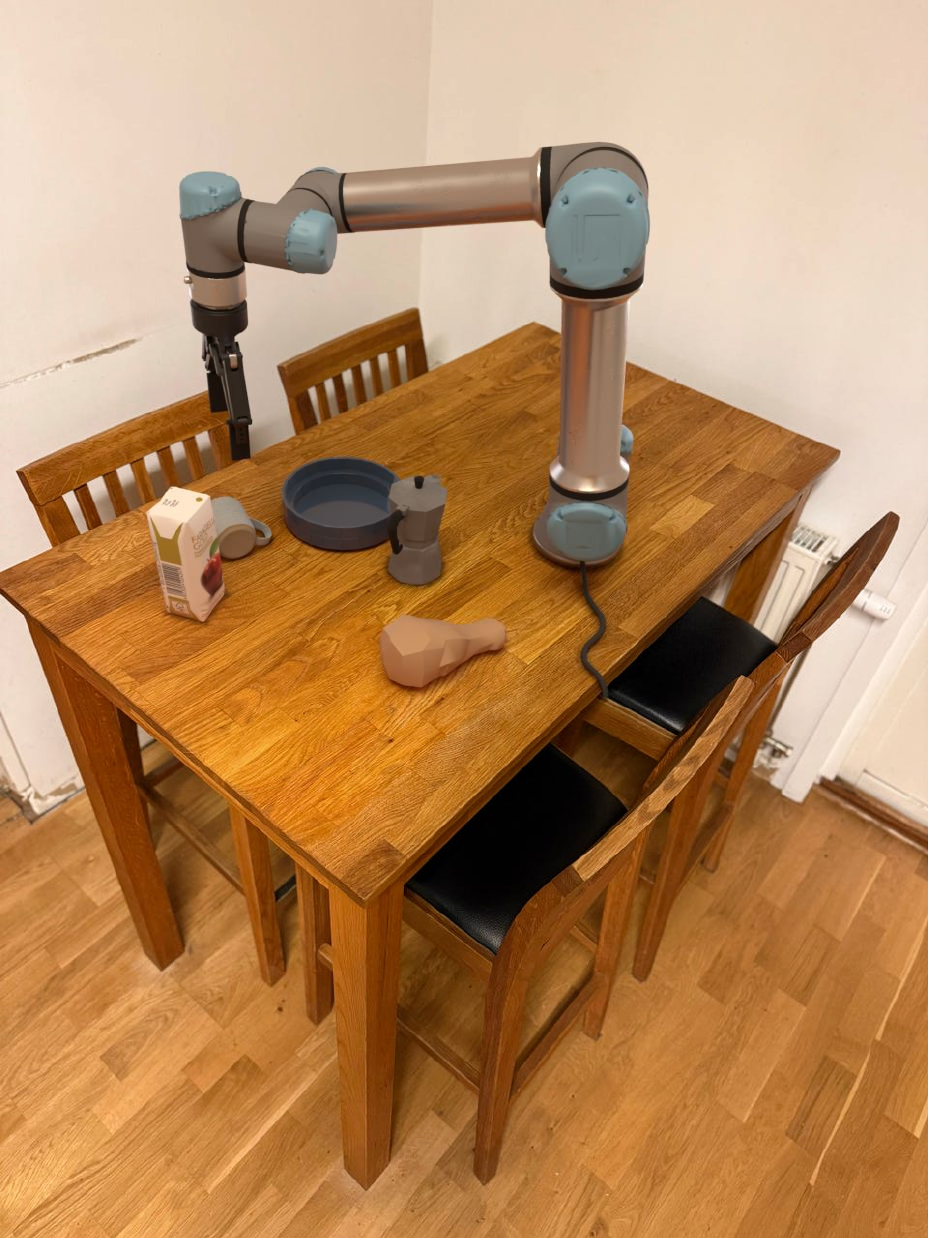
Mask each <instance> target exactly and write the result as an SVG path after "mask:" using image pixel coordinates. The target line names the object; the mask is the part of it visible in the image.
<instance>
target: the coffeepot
mask: <svg viewBox="0 0 928 1238" xmlns="http://www.w3.org/2000/svg"><path fill="white" fill-rule="evenodd" d="M441 482H442V476H440V475H439V476H438V475H437V474H433V473H432V474H428V475H426V476H422V475H415V476H408V477H405V478H403V479H400V481H398V482H396V483H393V484H392V486H391V490H390V494H389V501H390V508H391V516H390V518H389V521H388V523H387V533H388V536H389V538H388V540H389V543H390V546H391V552H390V557H389V562H388V567H387V572H388V573H389V574H390V576H392V577H393V578H394V579H395V580H396V581H398V582H399V583H402V584H405V585H410V586H423V585H427V584H430V583H432V582H433V581H435V580H436V579H438V578H439V577H440V576H441V570H442V563H443V561H442V556H441V555H442V554H441V547H440V546H441V545H440V540H439V531H440V527H441V524H442V520H443V515H444V512H445V507H446V504H447V498H448V489H447V488H446V487H445V486H443V485H442V484H441Z"/></svg>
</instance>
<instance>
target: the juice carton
mask: <svg viewBox="0 0 928 1238" xmlns="http://www.w3.org/2000/svg"><path fill="white" fill-rule="evenodd" d="M146 519H147V526H148V530H149V534H150V539H151V544H152V548H153V553H154V559H155V564H156V568H157V573H158V576H159V582H160V587H161V592H162V596H163V600H164V604H165V608H166V611H167V613H168V614H171V615H176V616H179V617H183V618H185V619H186V618H187V619H190V620H194V621H197V622H202V623H204V622H205V621H206V620H207V619H208V617H209V616H210V614H211V613H212V611H213V610H214V608H215V607H216V606H217V604H218V603H219V602H220V601H221V600H222V599H223V597H224V596H225V580H224V574H223V573H224V572H223V566H222V560H221V555H220V552H219V546H218V539H217V532H216V525H215V519H214V513H213V508H212V504H211V495H208V494H207V493H201V492H197V491H194V490H190V489H186V488H185V489H184V488H180V487H178V486H170V487H169V488H168V490H167V491H166V492H165V493H164V495H163V496H162V498H161V499H160V500H159V501H158V502H157V503H155V504H154V505H153V506H152V507H150V509H149V510H147V511H146Z"/></svg>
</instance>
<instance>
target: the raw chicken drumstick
mask: <svg viewBox="0 0 928 1238" xmlns="http://www.w3.org/2000/svg"><path fill="white" fill-rule="evenodd" d="M378 639H379V640H378V646H379V650H380V656H381V662H382V664H383V667H384V670H385V671H386V674H387V677H388V679H389V680H392V681H394V682H395V683H398V684H400V685H402V686H407V687H415V688H423V687H424V686H426V685H427V684H429V683H430V682H432V681H434V680H435V679H437V678H438V677H444V676H447V675H448V674H449V673H451V672H452V671H453V670H455V669H456V668H457V667H459V666H460V665H461V664H463V663H464V662H465V661H468V660H469V659H470V658H471V657H473V656H474V655H478V654H481V653H484V652H487V651H496V650H497V651H498V650H499V649H502V648H503V646H504V645H505V643H506V641H507V627H506V626H505V625H504V624H503V623H501V622H500V621H499V620H497V619H495V618H494V617H490V616H489V617H485V618H483V619H482V618H481V619H479V620H476V621H473V622H472V621H471V622H468V623H463V624H459V623H452V622H449V621H448V620H441V619H434V618H423V617H417V616H413V615H409V614H404V613H402V614H401V615H400V616H398V617H397V618H396V619H395V620H393V621H391V622H390V623H388V624H387V625H385V626H383V627H382V629H381V632H380V636H379V638H378Z"/></svg>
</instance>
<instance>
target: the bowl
mask: <svg viewBox="0 0 928 1238" xmlns="http://www.w3.org/2000/svg"><path fill="white" fill-rule="evenodd" d="M400 480H401V479H400V477H399V476H398V474H396V473H395V472H394V471H393V470H391V468H388V467H387V466H386V465H384V464H382V463H378V462H377V461H374V460H370V459H366V458H362V457H355V456H329V457H324V458H319V459H315V460H312V461H310V462H307V463H305V464H304V463H303V464H302V465H301V466H299V467H297V468H296V469H294V470H293V471H292V472H290V474H289V475H288V476H287V477H286V478H285V479H284V482H283V484H282V487H281V499H282V512H283V513H282V514H283V522H284V523H285V525H286V527H287V528H288V530H289V531H290V532H291V533H292V534H293V535H294V536H295V537H297V538H298V539H299V540H301V541H303V542H305V543H307V544H309V545H311V546H315V547H318V548H321V549H324V550H325V549H327V550H334V551H335V550H336V551H350V550H351V551H352V550H361V549H365V548H370V547H374V546H376V545H378V544H380V543H383V542H385V541H387V540H389V536H388V533H387V523H388V521H389V518H390V516H391V508H390V501H389V494H390V490H391V486H392V484H393V483H396V482H398V481H400Z"/></svg>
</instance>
